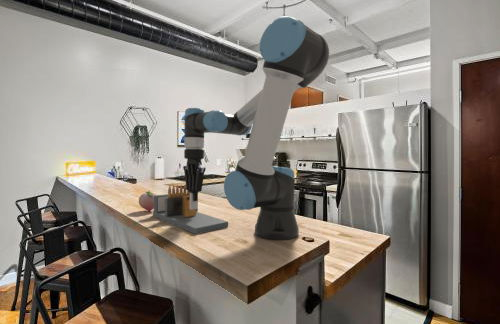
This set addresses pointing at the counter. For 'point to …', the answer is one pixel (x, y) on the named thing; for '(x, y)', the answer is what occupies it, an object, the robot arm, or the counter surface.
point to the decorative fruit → (147, 201)
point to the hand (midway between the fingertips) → (193, 208)
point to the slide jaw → (179, 206)
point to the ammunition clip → (182, 193)
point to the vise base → (187, 218)
